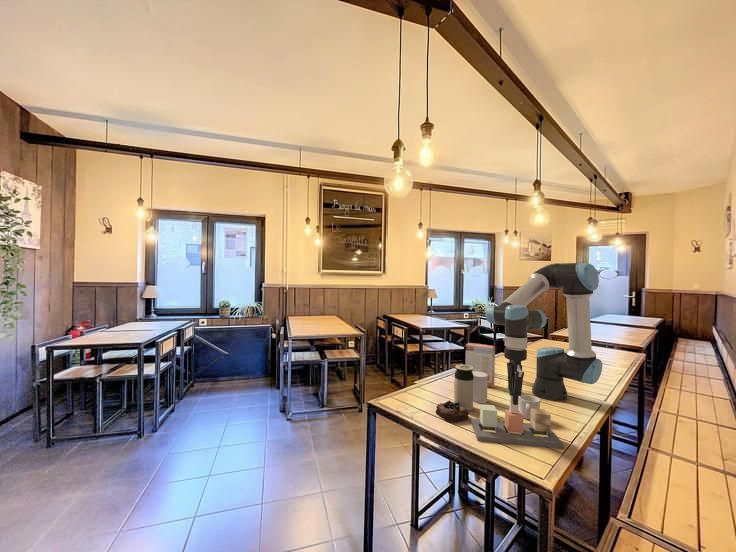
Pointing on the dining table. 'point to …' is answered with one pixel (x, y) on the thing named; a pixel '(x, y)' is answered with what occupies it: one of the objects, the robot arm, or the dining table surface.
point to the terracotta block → (514, 421)
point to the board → (515, 435)
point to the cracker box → (482, 360)
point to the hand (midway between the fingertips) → (513, 412)
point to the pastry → (452, 412)
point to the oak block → (540, 420)
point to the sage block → (488, 415)
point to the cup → (528, 405)
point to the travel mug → (464, 386)
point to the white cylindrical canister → (480, 387)
